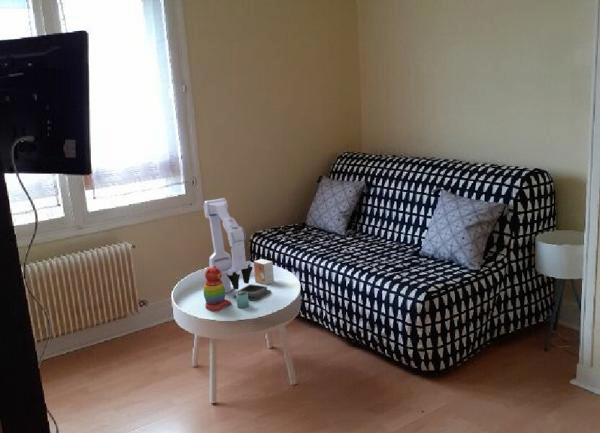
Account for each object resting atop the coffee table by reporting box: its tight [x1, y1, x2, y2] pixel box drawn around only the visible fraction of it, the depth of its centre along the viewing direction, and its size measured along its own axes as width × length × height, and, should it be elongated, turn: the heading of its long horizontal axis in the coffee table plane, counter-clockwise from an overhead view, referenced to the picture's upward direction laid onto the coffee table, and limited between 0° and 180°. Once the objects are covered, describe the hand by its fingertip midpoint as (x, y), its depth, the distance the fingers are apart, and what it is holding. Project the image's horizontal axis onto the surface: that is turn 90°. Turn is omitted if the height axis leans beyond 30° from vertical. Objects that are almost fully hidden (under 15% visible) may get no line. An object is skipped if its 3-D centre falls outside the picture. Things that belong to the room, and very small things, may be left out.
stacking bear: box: [203, 266, 232, 312], centre depth 264 cm, size 11×10×18 cm
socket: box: [234, 283, 272, 302], centre depth 276 cm, size 12×12×3 cm
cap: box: [235, 290, 250, 309], centre depth 263 cm, size 5×5×6 cm
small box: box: [253, 258, 275, 286], centre depth 292 cm, size 8×6×10 cm
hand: (241, 286), depth 262 cm, fingers open, 7 cm apart
